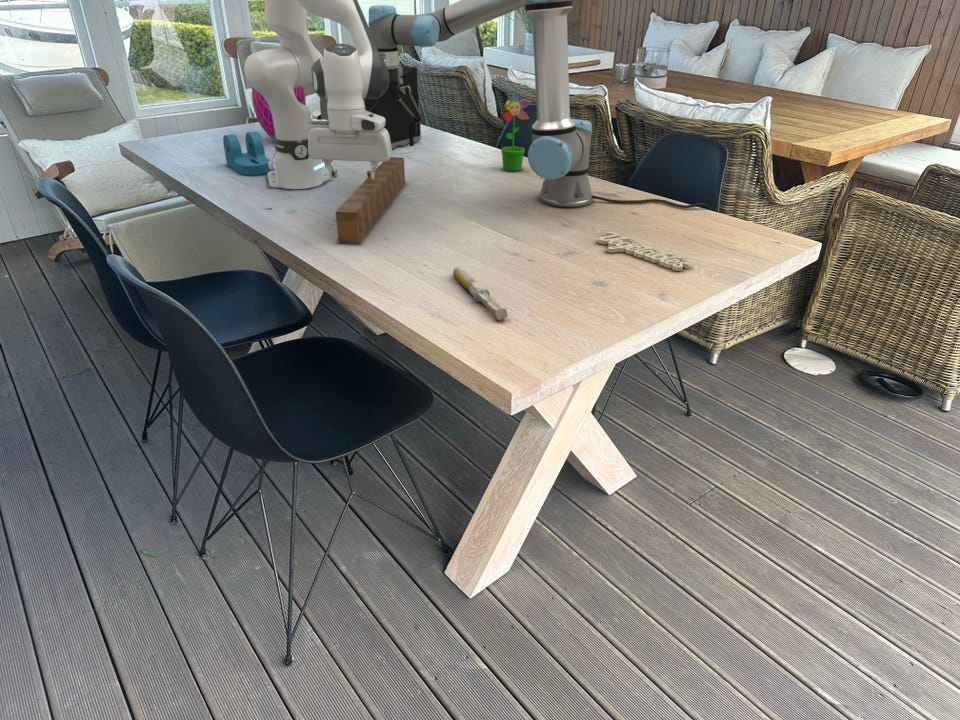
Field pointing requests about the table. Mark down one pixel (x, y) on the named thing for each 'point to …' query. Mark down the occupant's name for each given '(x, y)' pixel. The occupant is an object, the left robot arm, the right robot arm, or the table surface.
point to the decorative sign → (642, 251)
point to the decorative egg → (265, 112)
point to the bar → (369, 201)
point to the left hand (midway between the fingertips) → (352, 178)
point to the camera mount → (246, 154)
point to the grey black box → (393, 109)
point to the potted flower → (513, 154)
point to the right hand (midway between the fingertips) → (389, 144)
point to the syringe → (479, 293)
